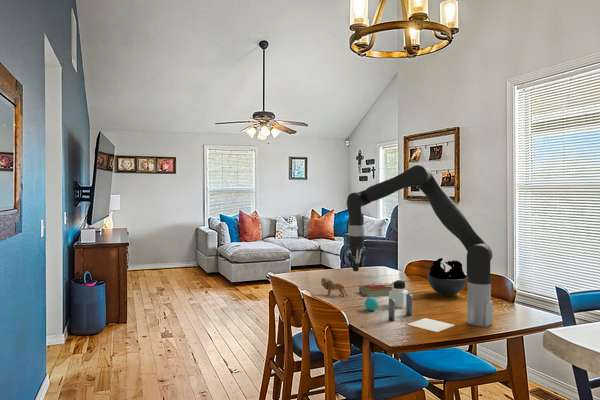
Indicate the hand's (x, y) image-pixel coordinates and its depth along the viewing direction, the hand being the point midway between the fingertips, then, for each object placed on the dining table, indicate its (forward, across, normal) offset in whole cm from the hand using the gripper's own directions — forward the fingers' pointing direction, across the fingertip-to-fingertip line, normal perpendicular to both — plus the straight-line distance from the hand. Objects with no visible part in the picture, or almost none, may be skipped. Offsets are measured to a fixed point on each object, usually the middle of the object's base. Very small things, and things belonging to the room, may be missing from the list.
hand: (355, 271), depth 222 cm
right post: (+17, +7, -26) cm, 31 cm away
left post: (+17, -6, -26) cm, 31 cm away
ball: (+14, 0, -10) cm, 17 cm away
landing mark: (+17, 0, -40) cm, 44 cm away
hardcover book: (+18, +33, +9) cm, 39 cm away
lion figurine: (+17, +9, +23) cm, 30 cm away
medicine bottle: (+17, +17, -12) cm, 27 cm away
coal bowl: (+17, +55, -16) cm, 60 cm away
